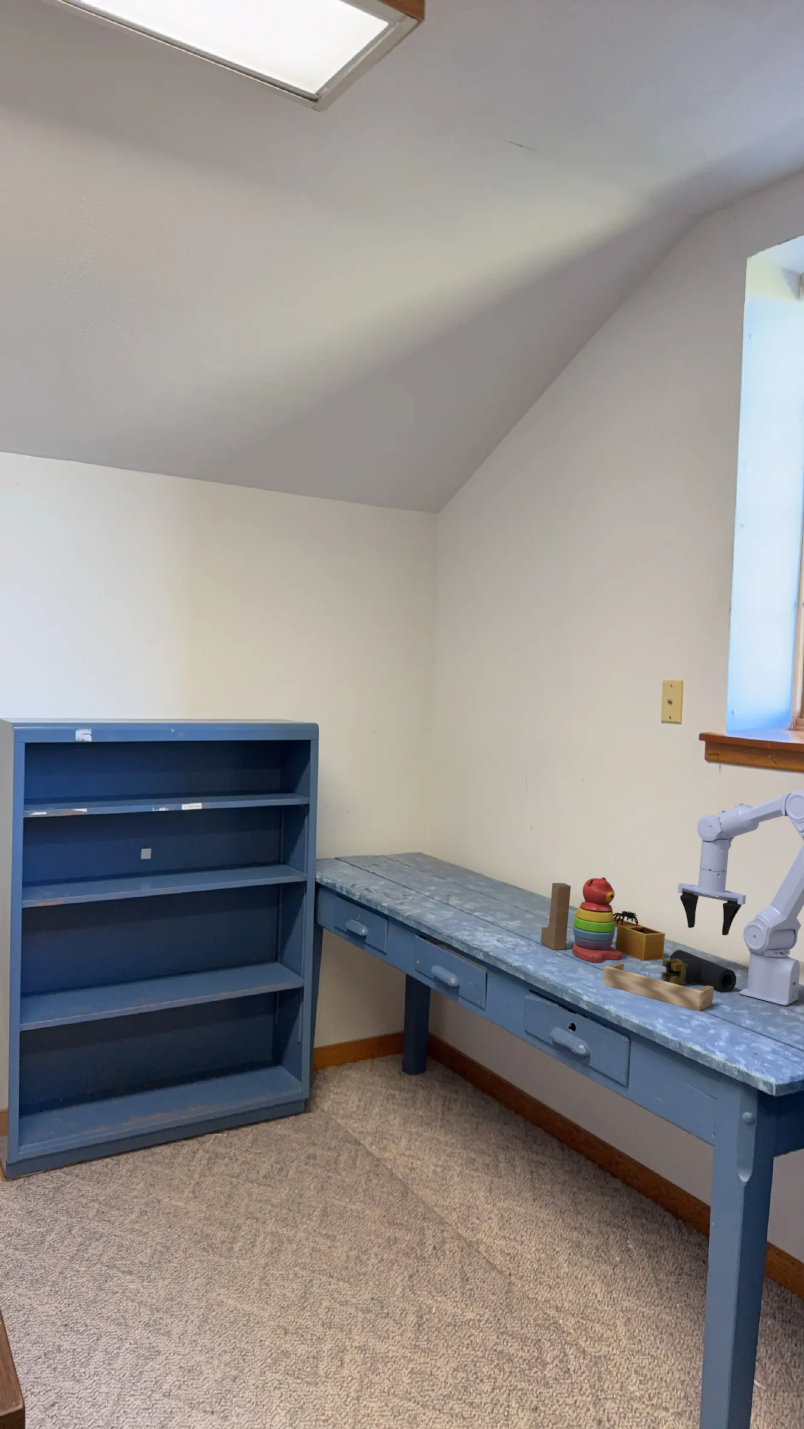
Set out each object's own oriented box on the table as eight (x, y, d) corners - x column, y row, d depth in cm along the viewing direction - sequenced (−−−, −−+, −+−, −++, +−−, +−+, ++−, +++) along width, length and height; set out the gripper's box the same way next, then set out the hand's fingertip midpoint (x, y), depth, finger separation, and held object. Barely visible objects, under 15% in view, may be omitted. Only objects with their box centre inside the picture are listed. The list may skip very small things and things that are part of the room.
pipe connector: (694, 969, 192) (646, 949, 205) (691, 995, 192) (644, 973, 205) (737, 968, 196) (688, 949, 210) (735, 994, 196) (686, 972, 210)
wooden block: (565, 950, 220) (571, 885, 220) (553, 950, 219) (558, 885, 218) (552, 942, 226) (558, 880, 226) (540, 942, 225) (545, 879, 225)
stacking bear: (593, 963, 209) (600, 883, 209) (560, 952, 217) (566, 875, 217) (625, 959, 216) (632, 881, 216) (592, 948, 224) (598, 873, 224)
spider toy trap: (618, 942, 232) (621, 904, 232) (663, 959, 219) (666, 919, 219) (598, 944, 228) (601, 905, 228) (642, 961, 215) (646, 920, 215)
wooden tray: (712, 1004, 185) (713, 987, 185) (698, 1011, 180) (700, 993, 180) (617, 979, 198) (618, 962, 198) (602, 984, 193) (603, 967, 193)
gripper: (752, 873, 207) (747, 935, 207) (688, 862, 216) (683, 921, 216) (741, 876, 202) (736, 940, 202) (676, 865, 211) (671, 925, 211)
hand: (707, 931), depth 209 cm, fingers open, 7 cm apart
